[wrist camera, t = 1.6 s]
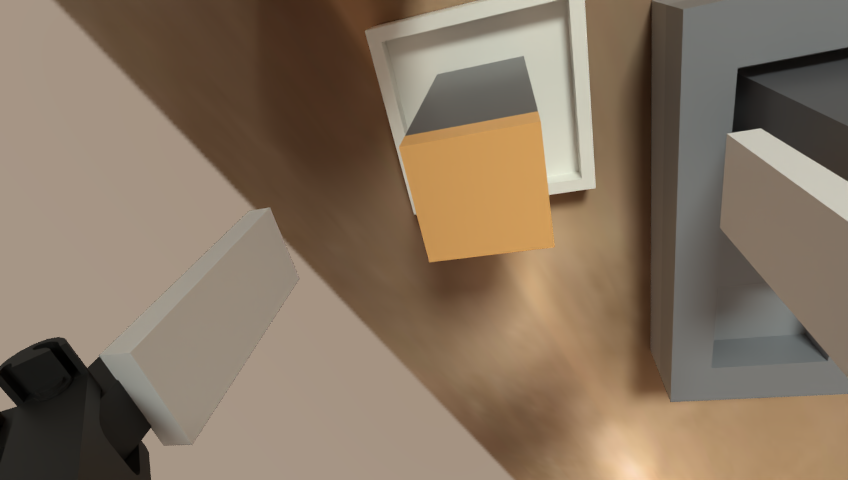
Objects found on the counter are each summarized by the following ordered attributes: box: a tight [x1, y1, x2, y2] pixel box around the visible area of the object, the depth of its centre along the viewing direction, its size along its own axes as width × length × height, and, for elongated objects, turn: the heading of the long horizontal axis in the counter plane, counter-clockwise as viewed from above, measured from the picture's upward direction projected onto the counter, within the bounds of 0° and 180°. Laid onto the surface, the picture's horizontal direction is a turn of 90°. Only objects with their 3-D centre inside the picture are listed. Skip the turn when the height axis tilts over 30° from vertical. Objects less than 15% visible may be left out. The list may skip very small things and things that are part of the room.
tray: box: [365, 0, 596, 215], centre depth 22 cm, size 9×9×2 cm
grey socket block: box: [651, 0, 848, 402], centre depth 22 cm, size 20×9×4 cm, turn 13°
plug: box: [399, 56, 555, 262], centre depth 18 cm, size 4×4×10 cm
